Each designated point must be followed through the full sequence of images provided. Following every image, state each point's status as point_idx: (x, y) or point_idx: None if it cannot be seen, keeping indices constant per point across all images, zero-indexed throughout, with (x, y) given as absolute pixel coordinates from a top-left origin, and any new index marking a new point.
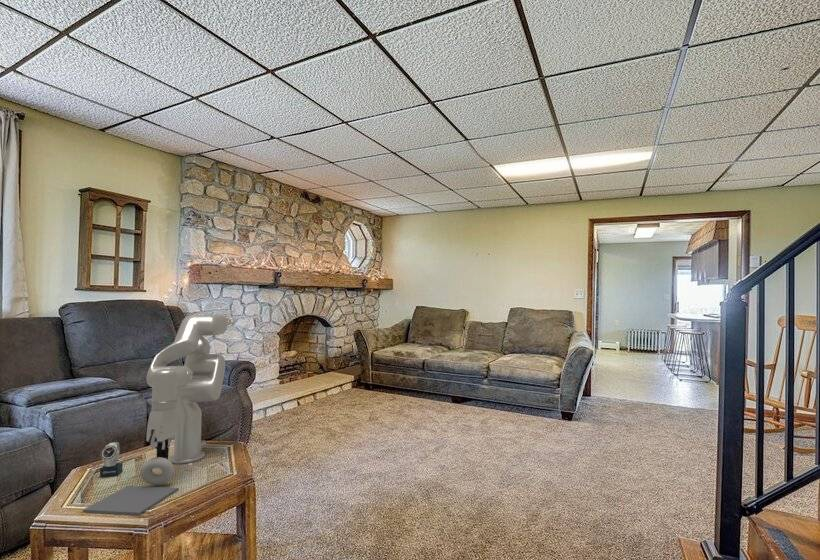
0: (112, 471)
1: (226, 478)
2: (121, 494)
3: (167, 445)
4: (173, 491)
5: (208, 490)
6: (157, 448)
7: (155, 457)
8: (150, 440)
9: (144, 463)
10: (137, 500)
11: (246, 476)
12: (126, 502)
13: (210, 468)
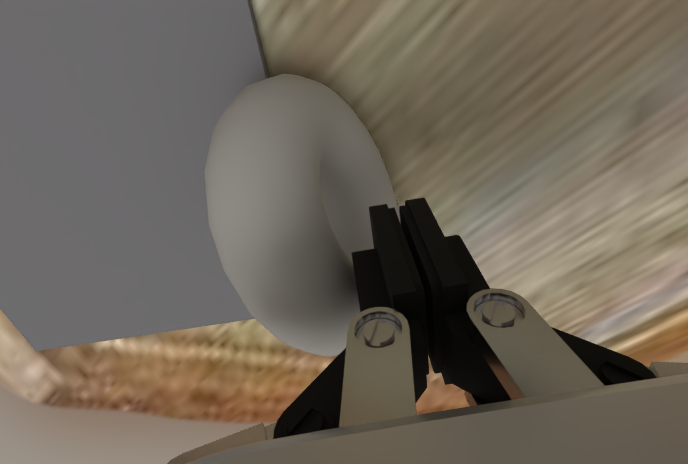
0: None
1: None
2: (86, 53)
3: (472, 404)
4: None
5: None
6: (341, 368)
7: (287, 309)
8: (270, 457)
9: (222, 187)
10: (102, 243)
11: None
12: (45, 207)
13: (645, 242)
